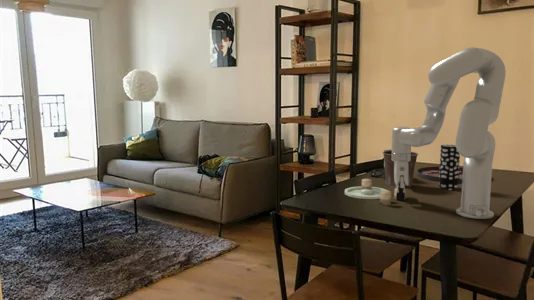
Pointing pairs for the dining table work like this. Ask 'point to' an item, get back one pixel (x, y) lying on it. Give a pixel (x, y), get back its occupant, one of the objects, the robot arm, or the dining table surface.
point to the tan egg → (396, 192)
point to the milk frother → (373, 172)
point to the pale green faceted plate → (364, 192)
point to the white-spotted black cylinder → (449, 167)
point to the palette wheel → (435, 173)
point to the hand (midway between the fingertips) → (399, 199)
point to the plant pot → (390, 168)
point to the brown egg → (385, 197)
